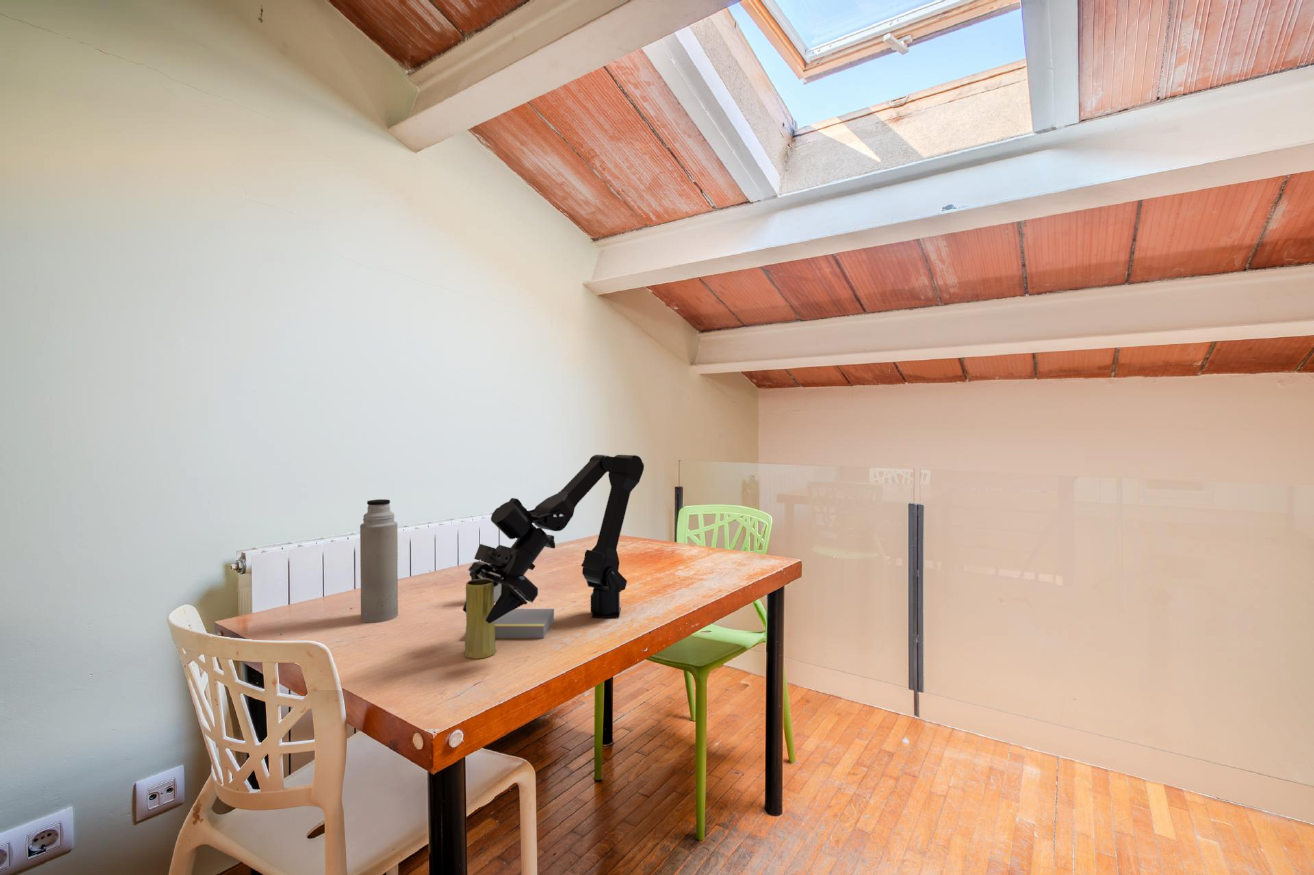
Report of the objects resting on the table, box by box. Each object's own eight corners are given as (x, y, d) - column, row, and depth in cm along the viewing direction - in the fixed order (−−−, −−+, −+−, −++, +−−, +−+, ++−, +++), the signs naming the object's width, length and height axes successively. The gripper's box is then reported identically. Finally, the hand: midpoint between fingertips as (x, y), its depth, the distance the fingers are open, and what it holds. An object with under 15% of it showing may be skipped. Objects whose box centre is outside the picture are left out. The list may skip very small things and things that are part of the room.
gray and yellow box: (554, 619, 132) (554, 608, 132) (543, 638, 120) (543, 625, 120) (486, 619, 132) (485, 608, 132) (468, 638, 120) (468, 625, 120)
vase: (468, 647, 115) (468, 578, 114) (499, 646, 115) (498, 577, 115) (460, 660, 109) (460, 586, 108) (492, 658, 109) (492, 585, 109)
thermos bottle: (382, 609, 139) (381, 497, 139) (405, 614, 136) (404, 498, 136) (353, 619, 132) (352, 500, 132) (376, 624, 129) (375, 502, 128)
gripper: (477, 523, 121) (426, 584, 113) (524, 534, 108) (471, 604, 100) (509, 554, 127) (463, 614, 119) (558, 568, 114) (510, 636, 106)
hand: (475, 616), depth 111 cm, fingers open, 9 cm apart
